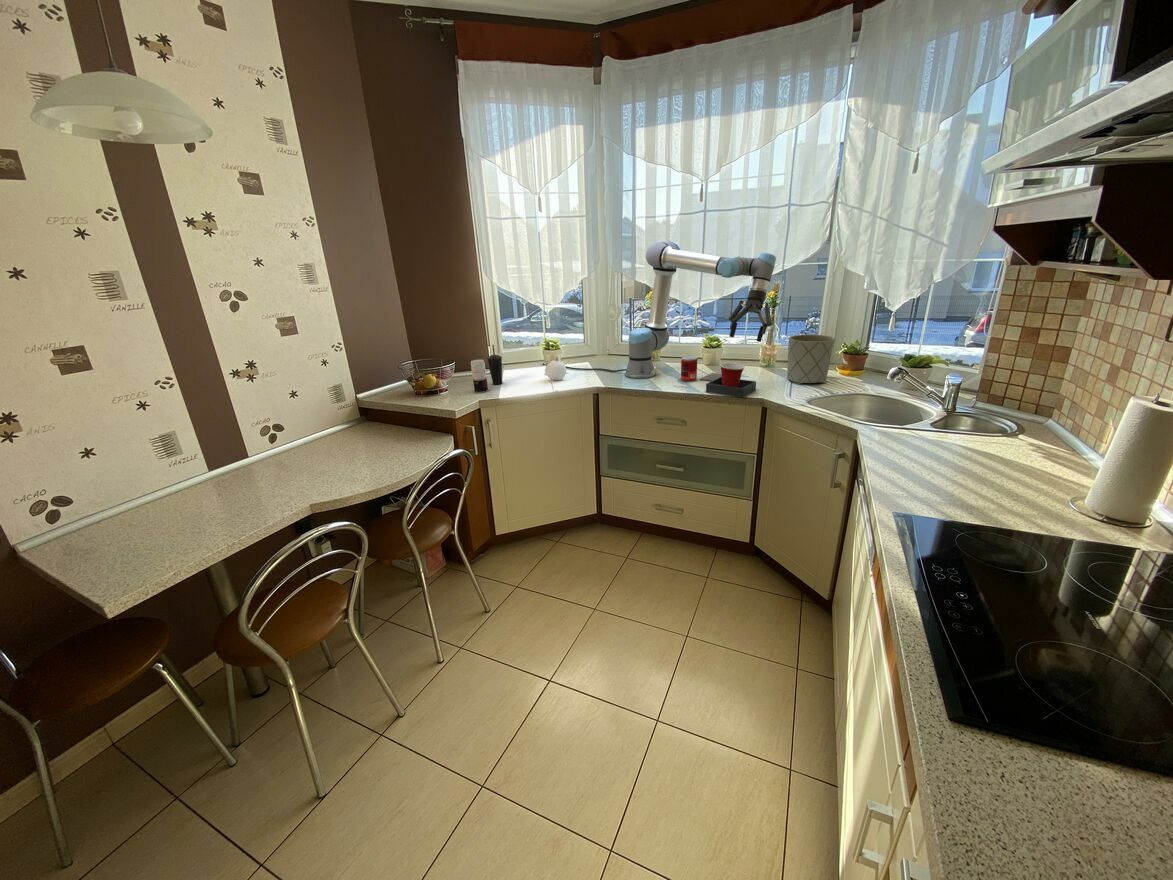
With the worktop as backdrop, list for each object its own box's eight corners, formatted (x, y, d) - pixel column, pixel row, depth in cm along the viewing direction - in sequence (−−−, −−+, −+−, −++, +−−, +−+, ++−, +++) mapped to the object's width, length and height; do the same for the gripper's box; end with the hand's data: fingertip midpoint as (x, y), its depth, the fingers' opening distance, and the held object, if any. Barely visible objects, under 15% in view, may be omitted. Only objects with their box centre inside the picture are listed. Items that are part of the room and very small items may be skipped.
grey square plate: (699, 379, 234) (699, 378, 234) (712, 373, 244) (712, 372, 244) (726, 383, 226) (726, 382, 225) (739, 377, 235) (739, 376, 235)
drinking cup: (507, 381, 248) (503, 343, 241) (500, 385, 241) (495, 346, 234) (494, 381, 251) (490, 343, 243) (487, 385, 244) (482, 345, 237)
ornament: (570, 379, 248) (569, 356, 243) (556, 383, 241) (554, 360, 236) (557, 376, 254) (555, 354, 250) (542, 380, 247) (541, 357, 243)
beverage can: (482, 388, 238) (478, 358, 233) (490, 390, 234) (487, 360, 229) (471, 391, 234) (467, 361, 228) (480, 393, 230) (476, 362, 224)
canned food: (698, 378, 238) (699, 356, 234) (694, 382, 231) (695, 359, 227) (683, 377, 241) (683, 355, 237) (679, 381, 234) (679, 358, 230)
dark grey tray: (705, 392, 214) (706, 383, 212) (719, 385, 224) (720, 376, 222) (742, 397, 203) (743, 388, 202) (755, 390, 213) (756, 381, 212)
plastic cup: (744, 394, 208) (746, 367, 203) (718, 394, 210) (720, 367, 205) (742, 388, 217) (744, 362, 213) (717, 387, 220) (719, 362, 215)
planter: (817, 374, 232) (823, 333, 225) (836, 385, 215) (842, 340, 207) (778, 376, 233) (782, 335, 226) (793, 386, 215) (798, 342, 208)
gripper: (788, 295, 203) (774, 344, 207) (737, 290, 220) (725, 336, 225) (781, 291, 198) (766, 342, 202) (729, 287, 215) (716, 334, 219)
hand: (744, 339), depth 213 cm, fingers open, 13 cm apart
